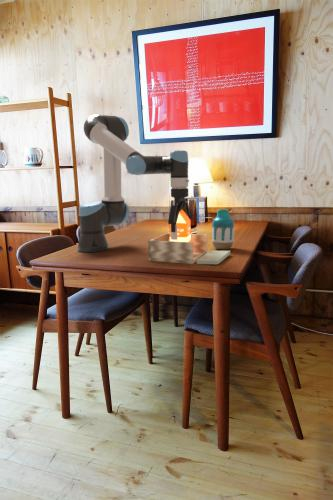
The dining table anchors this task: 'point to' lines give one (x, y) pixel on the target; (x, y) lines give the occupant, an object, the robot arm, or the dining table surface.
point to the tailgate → (213, 257)
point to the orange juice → (182, 228)
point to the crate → (177, 249)
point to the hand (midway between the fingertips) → (180, 236)
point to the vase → (223, 230)
